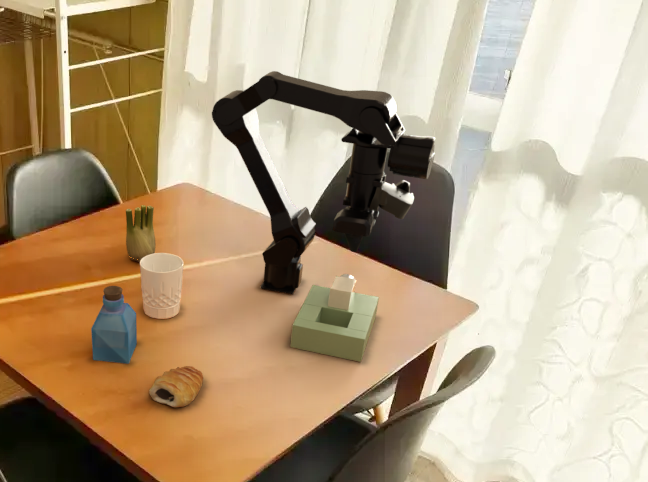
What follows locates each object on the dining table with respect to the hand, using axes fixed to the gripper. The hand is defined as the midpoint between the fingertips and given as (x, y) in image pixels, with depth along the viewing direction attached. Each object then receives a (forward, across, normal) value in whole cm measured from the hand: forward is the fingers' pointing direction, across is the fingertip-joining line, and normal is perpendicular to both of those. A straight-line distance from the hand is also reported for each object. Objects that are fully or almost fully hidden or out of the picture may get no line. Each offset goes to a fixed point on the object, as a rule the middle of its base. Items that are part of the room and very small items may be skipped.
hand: (353, 251), depth 137 cm
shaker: (+6, -8, 0) cm, 10 cm away
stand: (+10, -12, 0) cm, 16 cm away
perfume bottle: (+11, -33, +33) cm, 48 cm away
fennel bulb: (+11, +1, +43) cm, 44 cm away
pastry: (+10, -40, +19) cm, 46 cm away
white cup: (+11, -17, +31) cm, 37 cm away
